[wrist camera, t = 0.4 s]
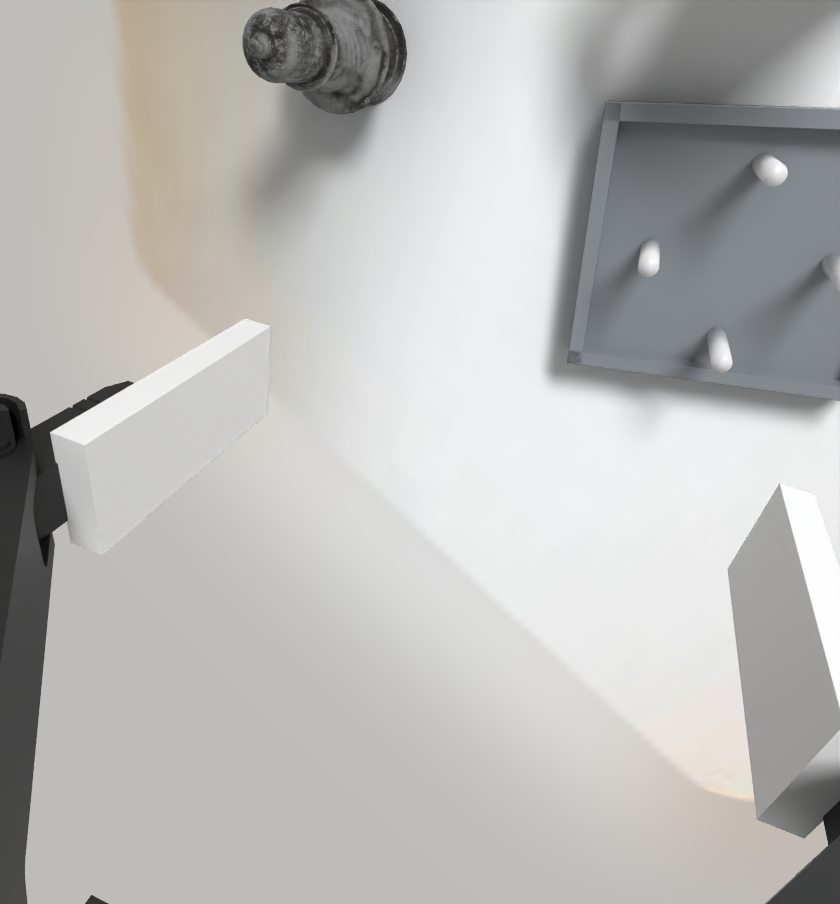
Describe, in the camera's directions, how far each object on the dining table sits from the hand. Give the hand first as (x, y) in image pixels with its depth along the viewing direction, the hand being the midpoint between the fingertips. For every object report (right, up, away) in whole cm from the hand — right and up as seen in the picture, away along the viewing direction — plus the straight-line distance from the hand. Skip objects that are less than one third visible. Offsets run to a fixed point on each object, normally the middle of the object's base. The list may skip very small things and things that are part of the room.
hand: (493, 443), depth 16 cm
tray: (+16, +11, +19) cm, 27 cm away
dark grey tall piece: (-5, +23, +20) cm, 31 cm away
